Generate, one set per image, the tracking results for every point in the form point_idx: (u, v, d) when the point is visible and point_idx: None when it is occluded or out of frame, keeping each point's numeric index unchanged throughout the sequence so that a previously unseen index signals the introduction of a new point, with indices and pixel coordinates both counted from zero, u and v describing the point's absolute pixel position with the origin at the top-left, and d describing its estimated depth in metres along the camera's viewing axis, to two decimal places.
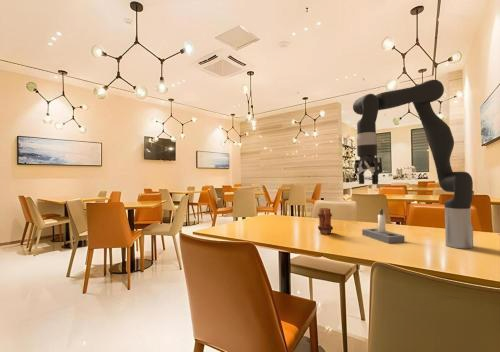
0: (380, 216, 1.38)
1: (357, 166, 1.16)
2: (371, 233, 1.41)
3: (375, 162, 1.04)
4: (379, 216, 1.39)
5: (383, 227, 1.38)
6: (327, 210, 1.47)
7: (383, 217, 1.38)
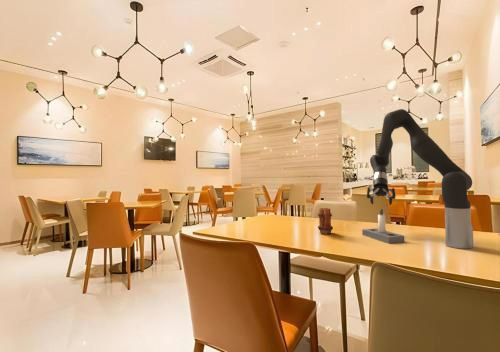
0: (380, 216, 1.38)
1: (392, 194, 1.49)
2: (371, 233, 1.41)
3: None
4: (379, 216, 1.39)
5: (383, 227, 1.38)
6: (327, 210, 1.47)
7: (383, 217, 1.38)
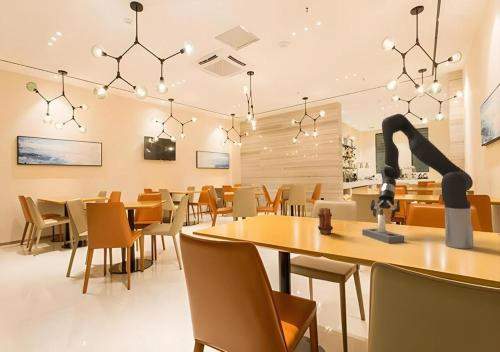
0: (380, 216, 1.38)
1: (397, 206, 1.44)
2: (371, 233, 1.41)
3: None
4: (379, 216, 1.39)
5: (383, 227, 1.38)
6: (327, 210, 1.47)
7: (383, 217, 1.38)
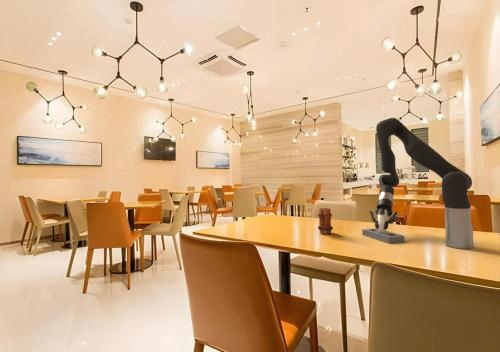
0: (380, 216, 1.38)
1: None
2: (371, 233, 1.41)
3: None
4: (379, 216, 1.39)
5: (383, 227, 1.38)
6: (327, 210, 1.47)
7: (383, 217, 1.38)
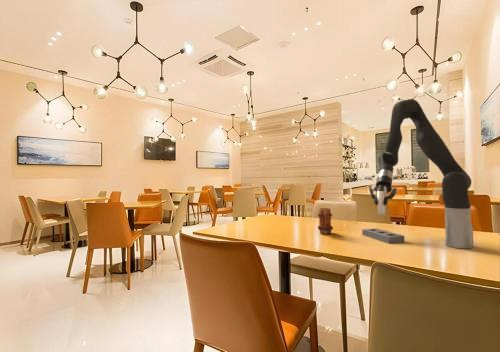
0: (379, 192, 1.38)
1: None
2: (371, 233, 1.41)
3: None
4: (378, 192, 1.39)
5: (382, 203, 1.38)
6: (327, 210, 1.47)
7: (382, 193, 1.38)
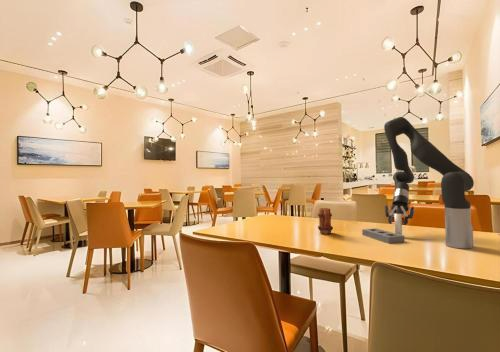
0: (397, 215, 1.41)
1: None
2: (371, 233, 1.41)
3: None
4: (396, 215, 1.41)
5: (400, 226, 1.40)
6: (327, 210, 1.47)
7: (400, 216, 1.40)
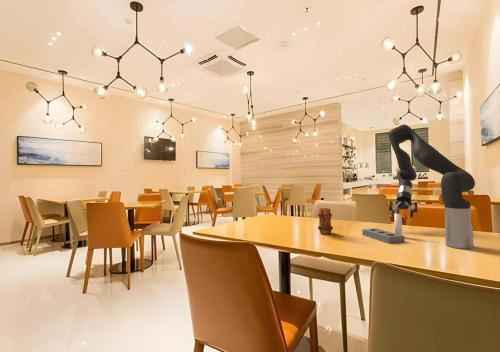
0: (397, 215, 1.41)
1: None
2: (371, 233, 1.41)
3: None
4: (396, 215, 1.41)
5: (400, 226, 1.40)
6: (327, 210, 1.47)
7: (400, 216, 1.40)
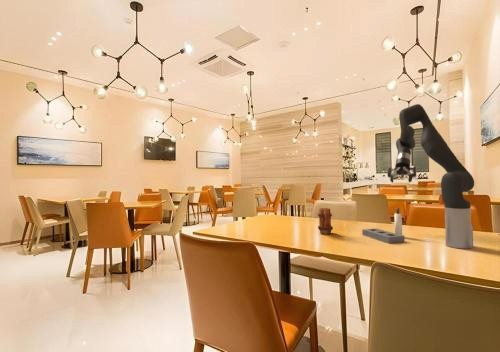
0: (397, 215, 1.41)
1: None
2: (371, 233, 1.41)
3: None
4: (396, 215, 1.41)
5: (400, 226, 1.40)
6: (327, 210, 1.47)
7: (400, 216, 1.40)
